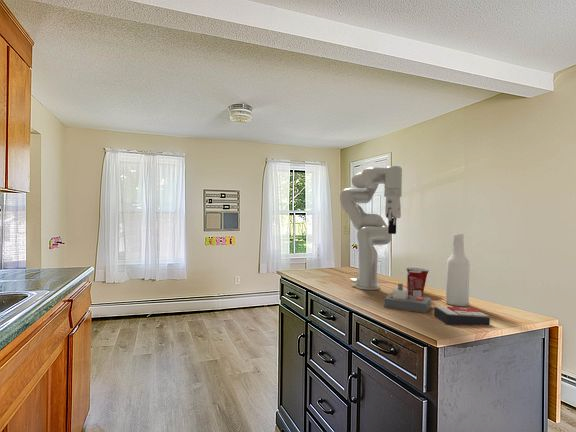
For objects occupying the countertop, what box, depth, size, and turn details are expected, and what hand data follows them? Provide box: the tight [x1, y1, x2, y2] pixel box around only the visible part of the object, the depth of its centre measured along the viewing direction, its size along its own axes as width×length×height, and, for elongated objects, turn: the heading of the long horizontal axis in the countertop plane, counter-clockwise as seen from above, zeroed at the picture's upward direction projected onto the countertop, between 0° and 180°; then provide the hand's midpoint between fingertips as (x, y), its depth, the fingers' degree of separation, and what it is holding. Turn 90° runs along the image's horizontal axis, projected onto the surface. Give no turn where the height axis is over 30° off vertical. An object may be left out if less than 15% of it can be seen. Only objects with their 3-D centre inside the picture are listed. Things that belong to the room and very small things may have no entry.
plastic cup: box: [405, 267, 430, 293], centre depth 175 cm, size 11×11×12 cm
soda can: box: [406, 270, 424, 297], centre depth 165 cm, size 7×7×12 cm
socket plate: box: [383, 292, 432, 314], centre depth 147 cm, size 16×12×4 cm
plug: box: [392, 282, 408, 300], centre depth 148 cm, size 5×5×8 cm
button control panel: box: [433, 306, 491, 326], centre depth 129 cm, size 11×4×15 cm
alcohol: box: [445, 233, 470, 307], centre depth 153 cm, size 9×9×30 cm
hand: (392, 233), depth 163 cm, fingers closed
